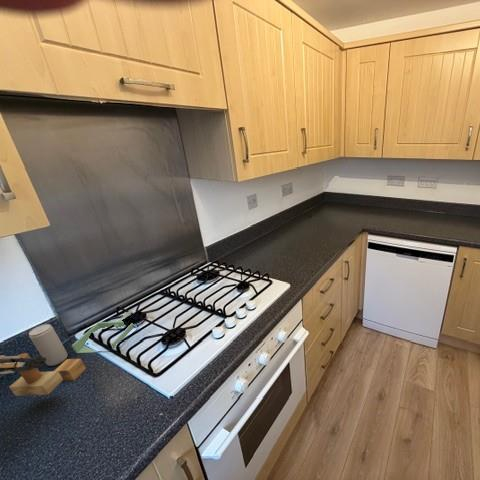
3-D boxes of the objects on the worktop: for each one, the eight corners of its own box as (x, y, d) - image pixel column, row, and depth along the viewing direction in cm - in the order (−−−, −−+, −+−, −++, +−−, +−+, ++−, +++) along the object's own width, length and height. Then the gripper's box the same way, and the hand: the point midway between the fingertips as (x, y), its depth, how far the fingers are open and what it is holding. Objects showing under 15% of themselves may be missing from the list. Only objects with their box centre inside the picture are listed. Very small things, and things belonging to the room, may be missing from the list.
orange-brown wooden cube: (60, 381, 72) (53, 371, 70) (72, 369, 75) (67, 359, 74) (74, 380, 71) (68, 370, 70) (86, 368, 75) (80, 358, 74)
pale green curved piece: (116, 351, 81) (112, 343, 79) (75, 353, 81) (71, 345, 80) (150, 314, 97) (147, 307, 95) (116, 316, 97) (113, 309, 96)
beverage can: (60, 353, 81) (42, 323, 76) (73, 354, 80) (55, 324, 76) (43, 366, 77) (22, 335, 72) (56, 367, 76) (37, 336, 71)
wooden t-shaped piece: (15, 395, 62) (-8, 365, 58) (32, 380, 65) (12, 351, 61) (48, 394, 62) (27, 363, 58) (63, 379, 65) (45, 349, 61)
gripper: (-15, 345, 48) (70, 345, 64) (-88, 348, 49) (15, 347, 65) (-34, 391, 46) (60, 379, 62) (-112, 394, 46) (2, 381, 62)
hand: (36, 362), depth 63 cm, fingers closed on wooden t-shaped piece, 2 cm apart
